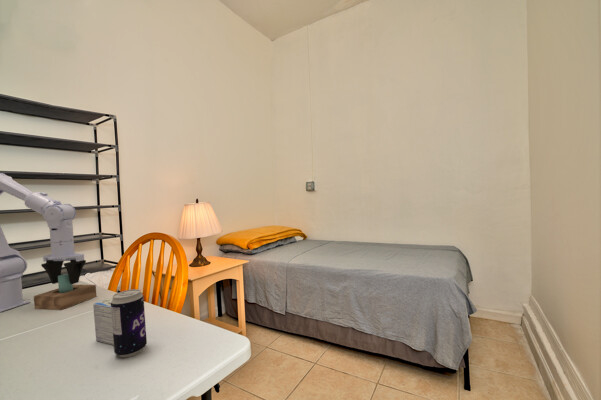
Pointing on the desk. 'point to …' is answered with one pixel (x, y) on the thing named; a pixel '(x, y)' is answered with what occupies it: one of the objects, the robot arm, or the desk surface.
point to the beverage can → (128, 322)
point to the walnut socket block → (64, 297)
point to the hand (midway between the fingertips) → (65, 283)
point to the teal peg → (64, 283)
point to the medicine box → (103, 321)
